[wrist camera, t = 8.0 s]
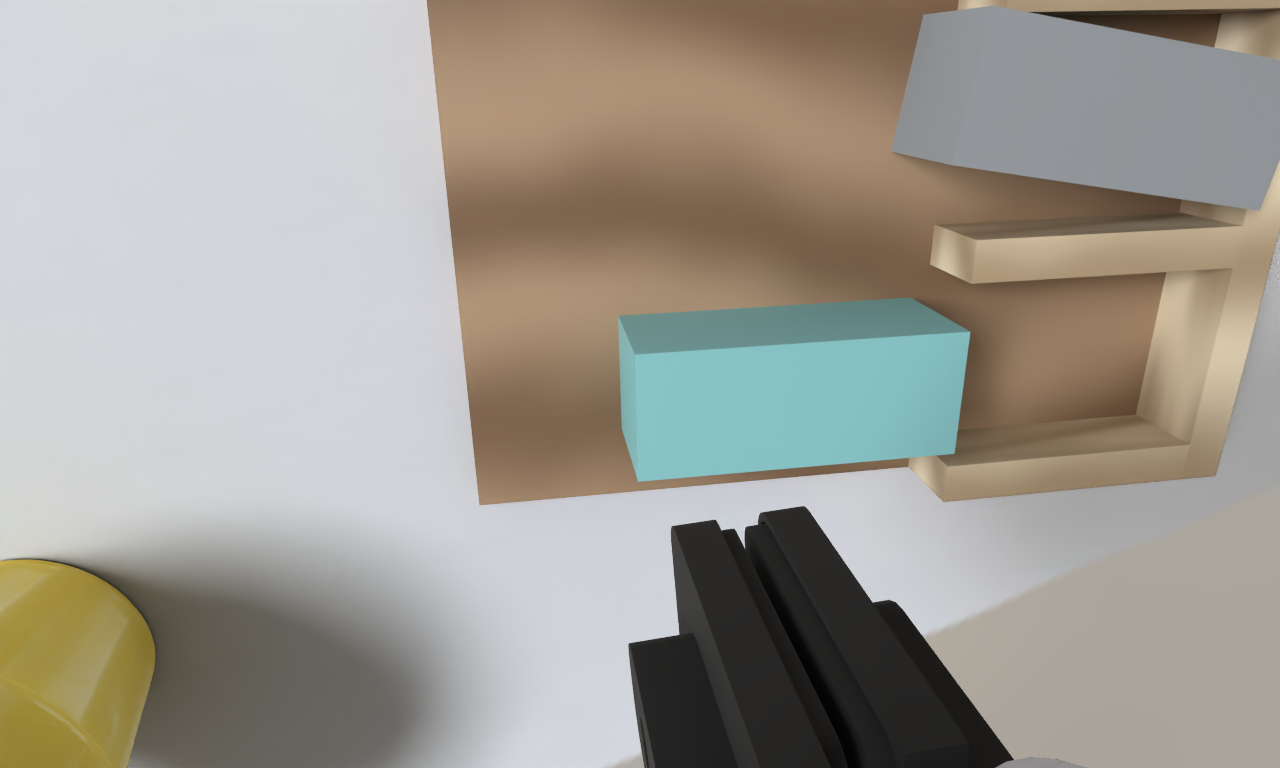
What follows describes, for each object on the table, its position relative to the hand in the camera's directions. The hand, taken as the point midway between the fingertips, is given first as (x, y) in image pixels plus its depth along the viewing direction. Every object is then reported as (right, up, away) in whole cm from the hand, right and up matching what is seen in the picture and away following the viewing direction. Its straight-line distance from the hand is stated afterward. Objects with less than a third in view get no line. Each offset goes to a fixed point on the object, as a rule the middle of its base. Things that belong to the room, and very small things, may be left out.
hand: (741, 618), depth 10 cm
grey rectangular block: (+11, +11, +13) cm, 20 cm away
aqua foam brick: (+3, +4, +15) cm, 16 cm away
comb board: (+5, +7, +15) cm, 17 cm away
